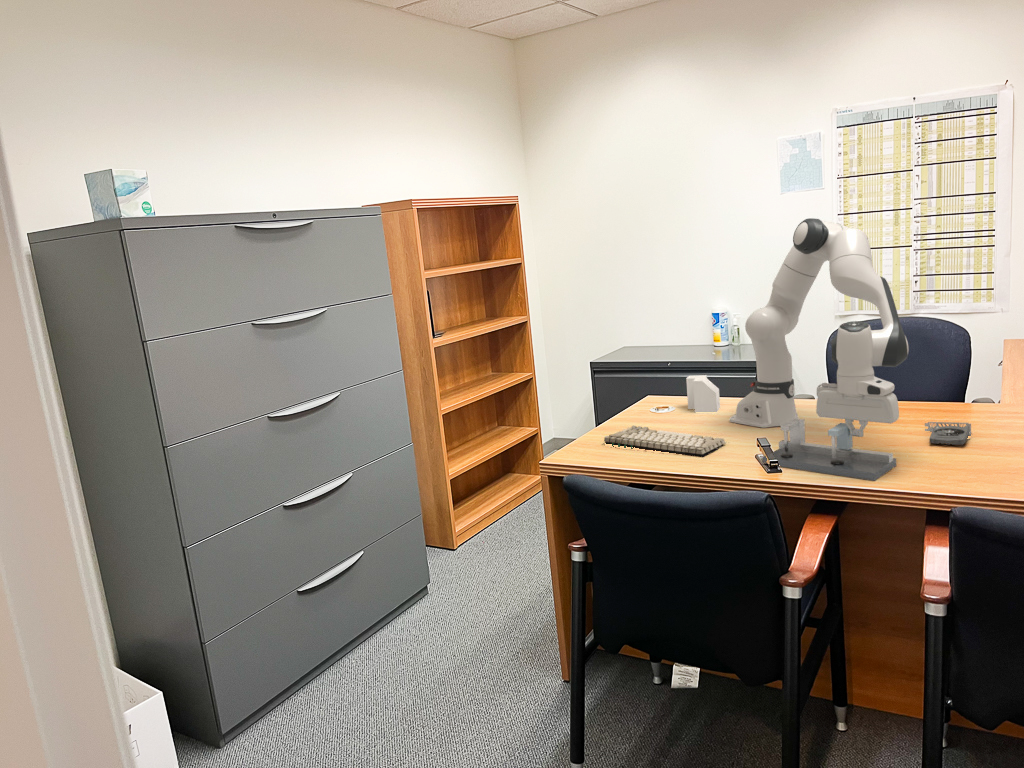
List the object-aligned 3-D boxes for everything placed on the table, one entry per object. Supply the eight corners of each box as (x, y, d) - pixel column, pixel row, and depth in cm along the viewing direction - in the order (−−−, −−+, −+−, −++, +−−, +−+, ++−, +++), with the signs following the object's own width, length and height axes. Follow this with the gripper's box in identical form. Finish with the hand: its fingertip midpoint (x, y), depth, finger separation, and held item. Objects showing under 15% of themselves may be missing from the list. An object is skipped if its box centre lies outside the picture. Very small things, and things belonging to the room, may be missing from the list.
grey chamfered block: (690, 406, 285) (688, 375, 283) (721, 406, 280) (719, 374, 278) (685, 413, 275) (683, 381, 273) (717, 413, 271) (715, 380, 269)
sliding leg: (827, 458, 197) (826, 430, 196) (841, 450, 203) (840, 422, 201) (838, 460, 195) (838, 431, 194) (852, 451, 201) (852, 423, 199)
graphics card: (925, 420, 223) (972, 421, 215) (925, 433, 223) (972, 434, 216) (917, 436, 209) (967, 437, 202) (917, 449, 210) (967, 450, 203)
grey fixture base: (762, 464, 208) (761, 426, 206) (787, 451, 217) (785, 415, 215) (874, 480, 186) (873, 439, 184) (896, 465, 195) (895, 426, 193)
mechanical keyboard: (732, 444, 232) (731, 433, 231) (702, 461, 219) (701, 450, 218) (630, 433, 258) (629, 424, 257) (597, 448, 244) (596, 438, 244)
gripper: (811, 384, 200) (812, 434, 202) (891, 389, 185) (892, 443, 187) (821, 380, 204) (823, 429, 207) (901, 384, 189) (901, 437, 192)
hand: (856, 436), depth 197 cm, fingers closed
